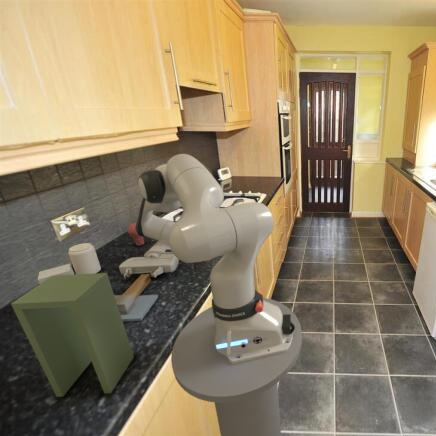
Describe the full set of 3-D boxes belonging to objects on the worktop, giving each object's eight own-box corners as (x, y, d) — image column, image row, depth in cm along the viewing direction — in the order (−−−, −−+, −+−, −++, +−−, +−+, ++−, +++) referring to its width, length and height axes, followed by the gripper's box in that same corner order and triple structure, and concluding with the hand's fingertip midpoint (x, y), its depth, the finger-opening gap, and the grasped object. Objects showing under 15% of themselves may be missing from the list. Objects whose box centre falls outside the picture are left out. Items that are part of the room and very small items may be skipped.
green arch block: (134, 357, 71) (107, 272, 62) (111, 393, 62) (75, 300, 53) (86, 360, 70) (52, 275, 61) (56, 397, 61) (10, 303, 52)
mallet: (155, 280, 103) (152, 271, 102) (127, 314, 85) (124, 304, 84) (139, 281, 103) (136, 272, 101) (108, 315, 85) (104, 305, 83)
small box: (82, 294, 97) (70, 263, 92) (82, 303, 92) (70, 270, 88) (52, 303, 92) (38, 271, 88) (51, 313, 88) (36, 279, 83)
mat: (158, 296, 95) (157, 294, 95) (141, 320, 84) (140, 318, 84) (111, 299, 94) (110, 297, 94) (88, 323, 83) (87, 321, 83)
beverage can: (82, 280, 105) (72, 253, 101) (73, 274, 109) (63, 248, 105) (105, 270, 112) (97, 245, 108) (95, 265, 116) (87, 240, 112)
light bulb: (129, 245, 134) (123, 223, 130) (145, 240, 139) (139, 219, 135) (135, 249, 130) (129, 227, 126) (150, 244, 135) (145, 222, 131)
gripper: (128, 252, 109) (107, 270, 96) (179, 250, 110) (165, 267, 98) (132, 265, 111) (112, 285, 99) (182, 263, 113) (169, 282, 100)
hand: (139, 276), depth 98 cm, fingers open, 8 cm apart
